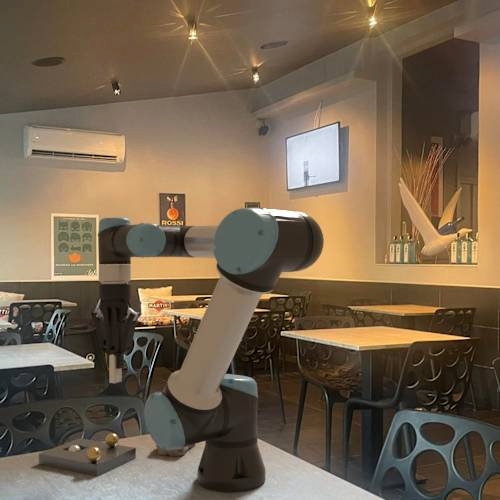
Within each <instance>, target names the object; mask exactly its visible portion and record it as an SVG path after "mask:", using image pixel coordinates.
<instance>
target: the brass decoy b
mask: <svg viewBox="0 0 500 500" xmlns="http://www.w3.org/2000/svg"><path fill="white" fill-rule="evenodd" d="M119 440H120V439H119V435H117V434H116V433H114V432H113V433H112V432H111V433H109V434H107V436H105V441H104V442H105V443H106V444H107V445H108V446H110V447H113V446H115V445H118V444H119Z"/></svg>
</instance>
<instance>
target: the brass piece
mask: <svg viewBox="0 0 500 500" xmlns="http://www.w3.org/2000/svg"><path fill="white" fill-rule="evenodd" d="M100 456H101V451H100V449H99V448H97V447H92V448H90V449H89V450H88V451H87V458H88V460H90V461H92V462H94V461H97V460H98V459H99V458H100Z"/></svg>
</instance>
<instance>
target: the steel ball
mask: <svg viewBox="0 0 500 500" xmlns="http://www.w3.org/2000/svg"><path fill="white" fill-rule="evenodd" d="M80 450H81V449H80V447H79V446H77V445H72V446H70V447H69V449H68V451H72V452H78V451H80Z"/></svg>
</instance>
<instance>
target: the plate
mask: <svg viewBox="0 0 500 500" xmlns="http://www.w3.org/2000/svg"><path fill="white" fill-rule="evenodd" d="M72 445H77V446H79V447H80V449H81V450H80V451H78V452H72V451H68V449H69V447H70V446H72ZM92 447H97V448H99V449H100V451H101V456H100V458H99V459H98V460H97V461H94V462H92V461H90V460H88V458H87V451H88V450H89V449H90V448H92ZM136 458H137V448H136V447H133V446H127V445H123V444H122V445H121V444H117V445H115V446H113V447H110V446H108V445H107V444H106V441H99V440H92V439H87V438H83V437H79V438H77V439H74V440H72V441H69V442H66V443H64V444H60V445H58V446H55V447H52V448H49V449H46V450H45V451H43V452H39V453H38V464H39V463H40V464H39V465H41V464H43V465H42V466H46V465H48V466H47V467H51V466H52V467H51V468H55V467H57V468H56V469H60V468H61V470H65V469H66V471H71V472H75V473H81V474H85V475H89V476H90V475H91V476H94V477H99V476H100V475H103V474H105V473H107V472H109V471H112V470H115V468H118V467H120V466H122V465H125V464H126V463H128V462H130V461H133V460H135V459H136Z"/></svg>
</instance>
